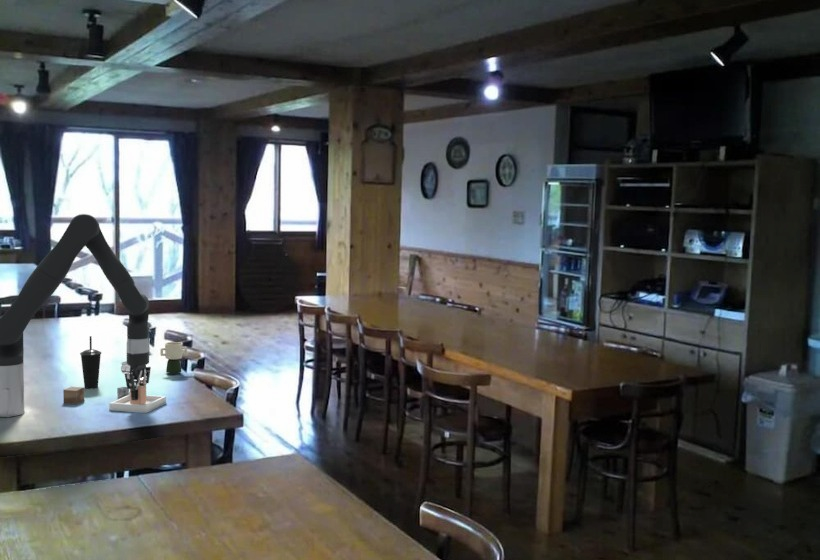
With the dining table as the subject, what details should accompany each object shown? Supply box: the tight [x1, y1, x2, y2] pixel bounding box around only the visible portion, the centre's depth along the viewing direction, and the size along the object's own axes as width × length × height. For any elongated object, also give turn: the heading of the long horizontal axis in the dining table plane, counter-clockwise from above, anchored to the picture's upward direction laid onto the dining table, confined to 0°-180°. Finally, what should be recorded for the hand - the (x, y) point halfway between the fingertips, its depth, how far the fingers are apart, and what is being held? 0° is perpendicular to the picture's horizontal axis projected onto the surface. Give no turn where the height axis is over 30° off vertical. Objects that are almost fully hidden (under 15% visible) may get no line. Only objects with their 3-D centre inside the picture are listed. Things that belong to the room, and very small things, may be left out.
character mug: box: [159, 341, 188, 375], centre depth 336 cm, size 11×7×13 cm, turn 118°
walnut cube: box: [62, 386, 85, 405], centre depth 286 cm, size 5×5×5 cm
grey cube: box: [116, 386, 130, 400], centre depth 292 cm, size 4×4×4 cm
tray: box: [108, 394, 167, 414], centre depth 282 cm, size 14×14×2 cm
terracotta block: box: [129, 385, 147, 405], centre depth 281 cm, size 4×4×6 cm
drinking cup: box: [79, 336, 102, 390], centre depth 308 cm, size 8×8×20 cm
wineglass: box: [120, 360, 130, 394], centre depth 299 cm, size 7×7×12 cm
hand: (138, 398), depth 281 cm, fingers open, 4 cm apart
